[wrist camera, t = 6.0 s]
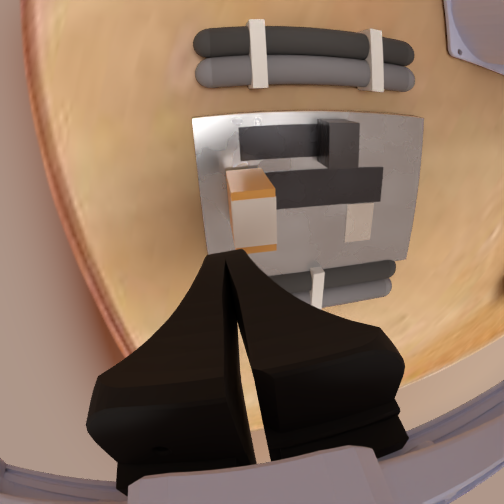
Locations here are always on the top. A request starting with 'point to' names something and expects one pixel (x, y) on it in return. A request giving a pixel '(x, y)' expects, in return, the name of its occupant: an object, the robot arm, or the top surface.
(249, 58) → the cord bundle
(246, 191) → the lever
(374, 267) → the cord bundle
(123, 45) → the top surface
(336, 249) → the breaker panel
